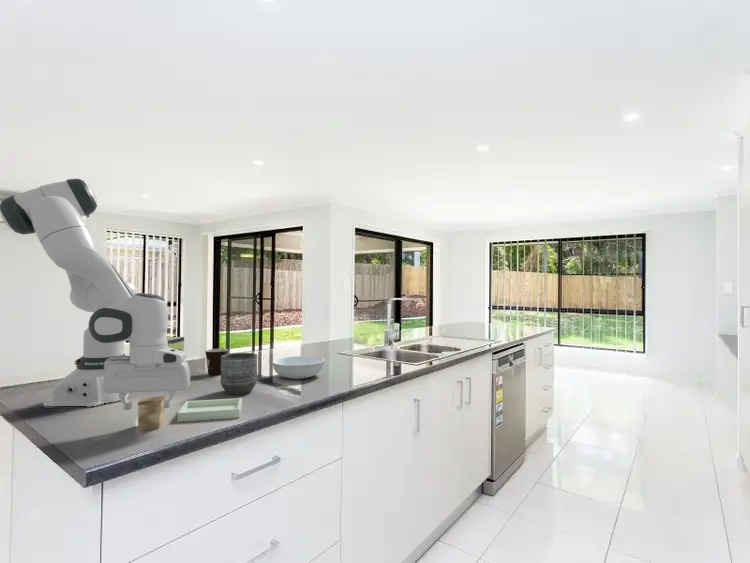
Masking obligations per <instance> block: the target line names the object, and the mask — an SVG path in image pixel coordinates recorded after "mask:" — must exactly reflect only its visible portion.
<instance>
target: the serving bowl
mask: <svg viewBox="0 0 750 563" xmlns="http://www.w3.org/2000/svg"><path fill="white" fill-rule="evenodd" d="M325 360H326V359H325V358H322V357H318V356H314V355H313V356H310V355H309V356H308V355H298V356H296V355H295V356H285V357H279V358H276V359H273V361H272V368H273V370H274V372H275V373H276V374H277V375H278V376H281V377H283V378H287V379H290V380H305V379H308V377H309V378H310V377H313V376H316V375H318V374H319V373H320V372H322V371H323V370H322V369H324V365H325ZM304 378H305V379H304Z"/></svg>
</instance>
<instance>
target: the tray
mask: <svg viewBox="0 0 750 563" xmlns="http://www.w3.org/2000/svg"><path fill="white" fill-rule="evenodd" d="M242 407H243V397H237V398H224V399H223V398H221V399H219V398H218V399H206V400H205V399H202V400H186V401H185V402H184V404H183V405H182V406H181V408H180V409H179V411H178V412H177V423H182V422H183V421H184V422H196V421H198V420H199V421H210V419H214V420H227V419H238V418H240V416H241V412H242ZM184 422H183V423H184Z"/></svg>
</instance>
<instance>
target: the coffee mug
mask: <svg viewBox="0 0 750 563" xmlns="http://www.w3.org/2000/svg"><path fill="white" fill-rule="evenodd" d="M226 354H228V349H227V348H212V349H211V348H210V349H207V350H205V357H206V367H207V375H208V376H209V375H211V377H215V376H216V377H218V376H221V356H222V355H226Z"/></svg>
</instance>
